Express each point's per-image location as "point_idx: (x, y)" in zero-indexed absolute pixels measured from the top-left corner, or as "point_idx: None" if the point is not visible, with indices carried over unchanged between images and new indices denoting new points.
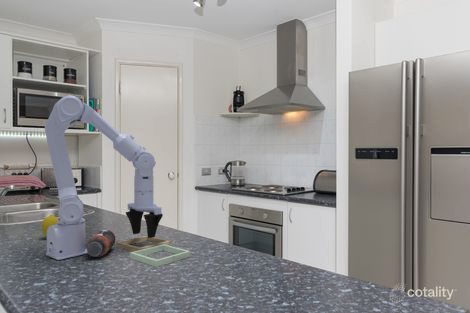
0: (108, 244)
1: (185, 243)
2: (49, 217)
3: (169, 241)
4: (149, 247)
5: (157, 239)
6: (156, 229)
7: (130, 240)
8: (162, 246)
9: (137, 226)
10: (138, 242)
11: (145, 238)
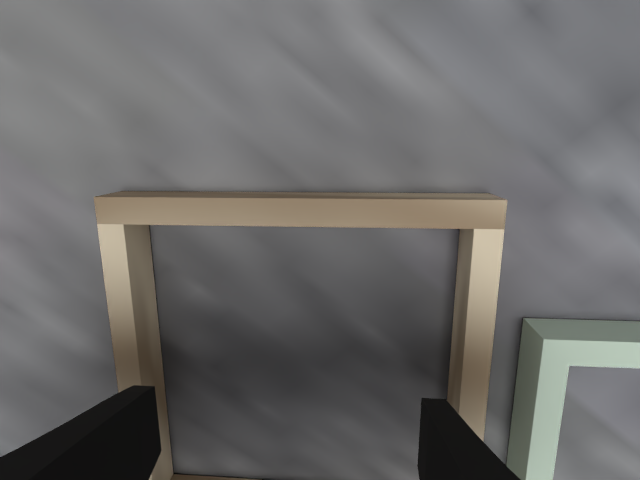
0: None
1: (549, 12)
2: None
3: (503, 220)
4: None
5: (302, 226)
6: (492, 455)
7: None
8: (563, 368)
9: (108, 477)
10: (156, 315)
11: (135, 244)
